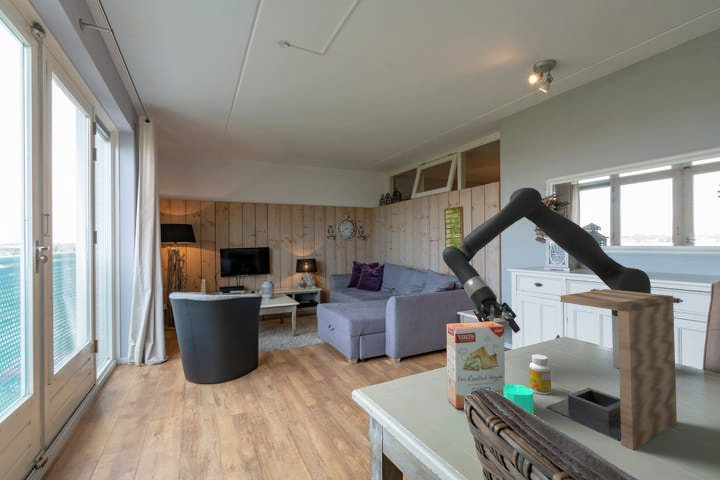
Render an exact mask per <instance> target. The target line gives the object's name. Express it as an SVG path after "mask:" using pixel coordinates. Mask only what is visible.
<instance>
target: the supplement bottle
mask: <svg viewBox="0 0 720 480" xmlns="http://www.w3.org/2000/svg"><path fill="white" fill-rule="evenodd" d="M548 358H549V357H547V356H546V355H543V354H537V353H536V354H532V355H531V361H532V362H530V363H529V389H531V390H533V393H535V394H539V395H542V396H543V395H545V396H546V395H549V394H552V370H551V366H550V365H549V364H548V362H549V359H548Z"/></svg>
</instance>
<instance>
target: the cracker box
mask: <svg viewBox="0 0 720 480" xmlns="http://www.w3.org/2000/svg"><path fill="white" fill-rule="evenodd" d="M505 373H506V372H505V326H504V325H502V324H500V323H498V322H495V321H494V322H493V321H491V322H479V321H476V322H457V323H447V324H446V375H447V376H446V378H447V379H446V381H447V382H446V383H447V385H446V386H447V387H446V388H447V393H446V394H447V395H446V396H447V397H446V398H447V400H448V401H449V402H450V403H451V405H452V406H453V407H454V408H455V409H457V410H458V409H459V410H460V409H465V408H464V397H465V396H466V395H468V394H470V393H471V392H472V391H473V390H475V389H479V388H484V389H489V390H493V391H495V392H498V393H499V394H501V395H503V396H504V386H505V385H506V382H505V381H506V379H505V378H506V376H505Z"/></svg>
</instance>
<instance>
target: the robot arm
mask: <svg viewBox="0 0 720 480" xmlns="http://www.w3.org/2000/svg"><path fill="white" fill-rule="evenodd" d="M524 218H525V219H527V220H528V221H530V222H531V223H533V224H534V225H535V226H537V227H538V228H539V229H540V231H542V232H543V233H544V234H545V236H547V237H548V238H550V239H551V240H552V241H553V243H555V244H556V245H557V247H560V248H561V250H563V251H564V252H566V253H567V254H568V255H570V256H571V257H573V258H574V259H575V260H577V262H579V263H580V264H582V265H583V266H584V267H586V268H587V269H589V270H590V271H591V272H592V273H594V274H595V275H596V276H597V277H598V278H599V279H600V280H601V281H602V282H603V283H604V284H605V285H606V286H607V287H608V288H609V289H610V290H620V291H629V292H639V293H649V294H652V285H651V279H650V277H649V275H648V274H647V273H646V272H645V271H643V270H642V269H639V268H635V267H628V266H627V267H626V266H624V265H622V264H621V263H619V262H617V261H616V260H615V259H613V258H611V257H610V256H609V255H608V254H607V253H606V252H605V251H604V249H602V247H601V246H600V244H599V242H598V240H596V239H595V237H594V236H593V235H591V234H590V233H589V232H588V231H587V230H585V229H584V228H583V227H581V226H580V225H579V224H577V223H576V222H574V221H572V220H571V219H569V218H567V217H565V216H564V215H561V214H560V213H558V212H556V211H555V210H553V209H552V208H551V207H549V206H548V205H547V204H546V203H545V202H544V201H543V199H542V195H541V193H540V191H538V189H536V188H532V187H522V188H519V189H517V190H515V191H514V192H512V194H511V195H510V197H509V202H508V203H507V204H506V205H505V206H504V207H503V208H502V209H500V211H498V212H496V214H494V215H493V216H491V217H490V218H489V219H487V220H485V221H484V222H483V223H481V224H480V225H478V226H477V227H476V228H475V229H473V230H471V231H470V233H468V234H467V235H466V236H465V237H464V238H463V240H462V241H463V244H462V246H461V247H460V248H458V247H457V246H453V245H451V246H450V245H449V246H447V247H446V248H445V249H443V251H442V260H443V261H444V263H445V265H446V266H447V267H448V268H449V269H450V271H451V272H452V273H453V274H454V275H455V276H456V278H457V279H458V281H459V283H460V285H462V287H463V288H464V290H465V293H466V295H467V296H468V298H469V299H470V300H471V302H472V303H473V305H474V306H475V308H474V309H473V311H472V312H473V314H474V315H475V317H476V318H477V320H478V322H491V321H493V322H495V321H494V320H495V319H499V320H501V321H505V323H507V325H508V326H509V328H510V329H511V330H512V331H513V333H514V334H517V333H518V332H520V331H521V328H520V326H519V324H518V323H517V322H516V320H515V318H517V314H516V313H515V312H514V311H513V310H512V308H511V307H510V306H509V304H508V303H507V302H506V301H505V302H503V303H501V304H500V303H499V302H498V301H497V299H498V298H497V295H496V294H495V292H494V291H493V290H492V288H491V287H490V286H489V284H488V283H487V282H486V281H485V279H483V277H482V276H481V274H479V273H478V271H477V270H476V269H475V268H474V266H473V265H471V264H470V262H471V261H472V259H474V257H475V256H476V255H477V253H478V252H479V251H481V250H482V249H483V248H485V247H486V246H488V244H490V243H491V242H492V241H493V240H494V239H495V238H497V237H498V236H499V235H500V234H501V233H503V232H504V231H506V229H508V228H509V227H511V226H512V225H513V224H516V223H517V222H519V221H520V220H522V219H524ZM611 335H612V365H613V367H614V368H617V369H619V339H618V310H611Z"/></svg>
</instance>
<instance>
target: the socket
mask: <svg viewBox="0 0 720 480" xmlns="http://www.w3.org/2000/svg"><path fill="white" fill-rule="evenodd" d="M545 408H546V409H547V410H549V411H552V412H554V413H556V414H558V415H560V416H562V417H565V418H567V419H569V420H571V421H574V422H576V423H578V424H581V425H583V426H584V427H588V428H590V429H591V430H593V431H595V432H598V433H600V434H602V435H604V436H607V437H609V438H611V439H613V440H615V441H618V442H620V441H621V412H620V397H616V396H614V395H611V394H608V393H605V392H603V391H600V390H597V389H594V388H591V387H585V388H583V389H581V390H578V391H575V392H573V393H569V394H568V395H567V398H565V399H563V400H560V401H558V402H555V403H552V404H550V405H547V406H546V407H545Z"/></svg>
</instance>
